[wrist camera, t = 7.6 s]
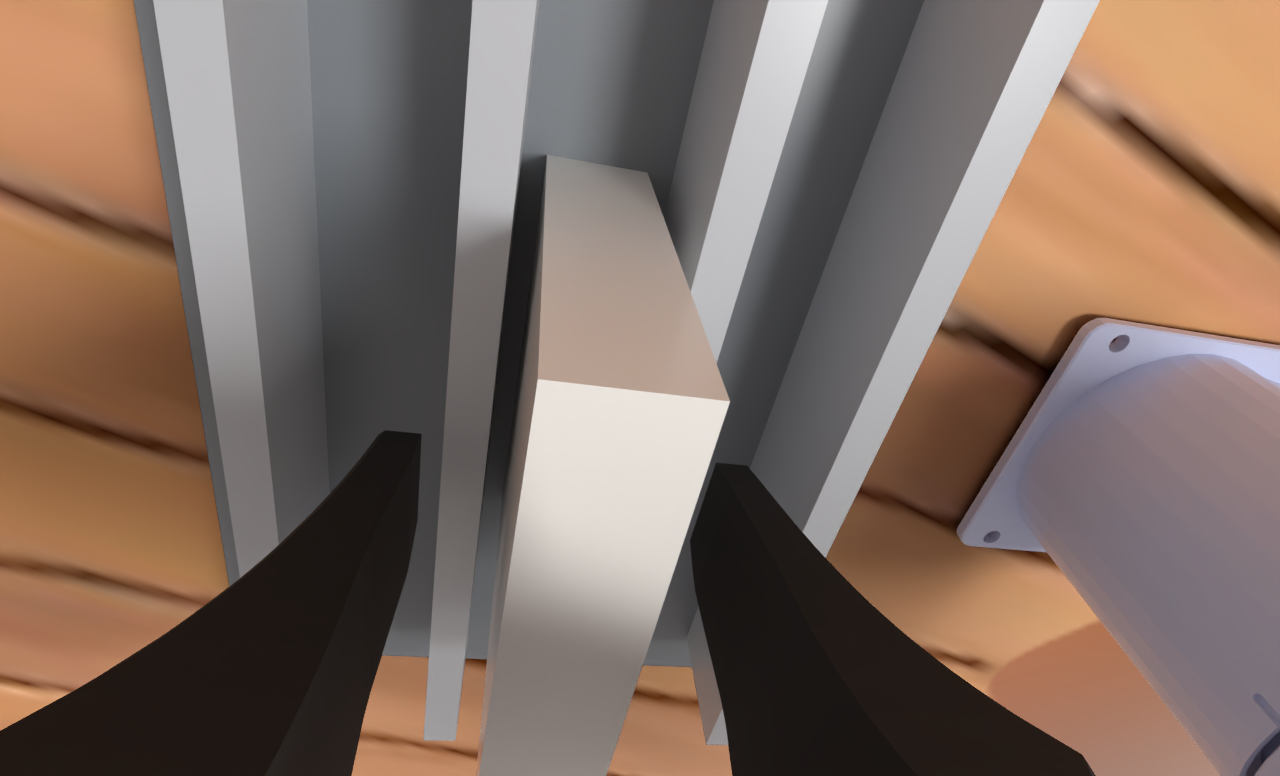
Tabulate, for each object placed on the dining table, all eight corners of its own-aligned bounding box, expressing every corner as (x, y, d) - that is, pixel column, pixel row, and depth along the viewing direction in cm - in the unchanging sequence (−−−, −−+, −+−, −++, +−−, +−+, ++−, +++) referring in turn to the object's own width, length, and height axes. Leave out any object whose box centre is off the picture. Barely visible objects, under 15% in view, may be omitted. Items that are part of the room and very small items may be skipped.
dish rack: (1084, -112, 13) (1300, -125, 9) (746, 644, 24) (780, 774, 21) (104, -403, 10) (-177, -604, 6) (252, 621, 21) (187, 769, 18)
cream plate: (647, 172, 14) (730, 401, 7) (577, 504, 19) (589, 825, 12) (547, 154, 13) (537, 378, 7) (502, 498, 18) (471, 826, 12)
